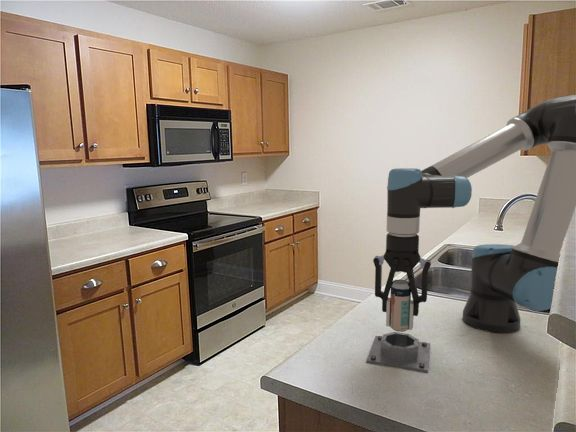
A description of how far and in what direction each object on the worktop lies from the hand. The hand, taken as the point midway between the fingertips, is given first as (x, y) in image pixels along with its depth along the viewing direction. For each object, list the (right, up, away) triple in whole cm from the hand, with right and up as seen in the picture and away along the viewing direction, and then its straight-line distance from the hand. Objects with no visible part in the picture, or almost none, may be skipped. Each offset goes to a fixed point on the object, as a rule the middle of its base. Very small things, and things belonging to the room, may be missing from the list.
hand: (399, 325), depth 101 cm
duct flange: (0, -7, +1) cm, 7 cm away
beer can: (0, -1, 0) cm, 1 cm away
